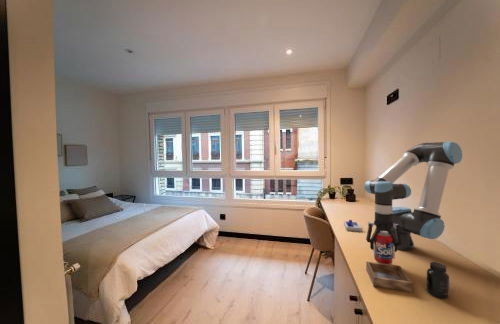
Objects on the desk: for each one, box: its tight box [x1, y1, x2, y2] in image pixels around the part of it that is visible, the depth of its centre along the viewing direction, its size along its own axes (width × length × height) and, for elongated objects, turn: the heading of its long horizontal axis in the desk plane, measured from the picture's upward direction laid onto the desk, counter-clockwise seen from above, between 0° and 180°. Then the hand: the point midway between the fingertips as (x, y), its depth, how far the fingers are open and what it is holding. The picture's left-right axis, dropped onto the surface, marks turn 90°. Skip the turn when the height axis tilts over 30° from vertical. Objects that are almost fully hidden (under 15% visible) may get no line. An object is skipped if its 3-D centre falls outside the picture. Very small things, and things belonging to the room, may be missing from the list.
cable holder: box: [348, 219, 354, 227], centre depth 162 cm, size 8×4×4 cm, turn 149°
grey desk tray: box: [343, 220, 363, 233], centre depth 161 cm, size 10×14×3 cm
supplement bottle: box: [425, 261, 450, 300], centre depth 85 cm, size 7×7×12 cm
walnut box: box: [365, 261, 414, 294], centre depth 95 cm, size 14×14×4 cm
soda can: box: [373, 231, 394, 265], centre depth 108 cm, size 8×8×15 cm
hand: (383, 256), depth 109 cm, fingers closed on soda can, 8 cm apart
